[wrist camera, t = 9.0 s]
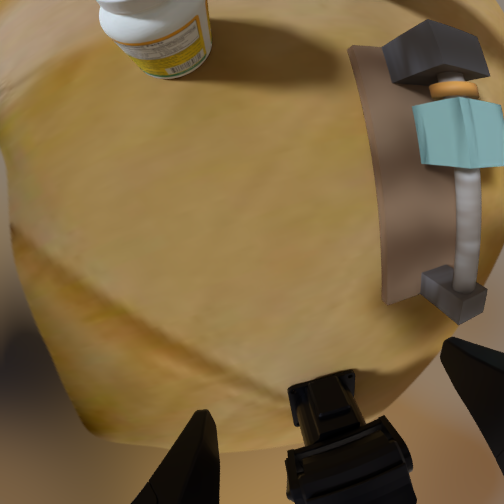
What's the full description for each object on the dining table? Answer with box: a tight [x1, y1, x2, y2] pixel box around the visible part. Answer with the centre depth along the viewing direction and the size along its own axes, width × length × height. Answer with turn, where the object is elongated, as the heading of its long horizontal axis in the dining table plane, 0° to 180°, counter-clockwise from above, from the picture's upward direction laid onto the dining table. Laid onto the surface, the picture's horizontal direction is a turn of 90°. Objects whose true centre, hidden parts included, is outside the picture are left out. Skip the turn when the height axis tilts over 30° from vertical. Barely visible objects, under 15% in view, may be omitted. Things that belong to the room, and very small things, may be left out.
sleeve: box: [412, 97, 504, 169], centre depth 13 cm, size 4×5×5 cm
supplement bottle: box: [96, 0, 212, 79], centre depth 10 cm, size 5×5×10 cm
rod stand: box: [347, 19, 490, 325], centre depth 15 cm, size 20×10×7 cm, turn 12°
